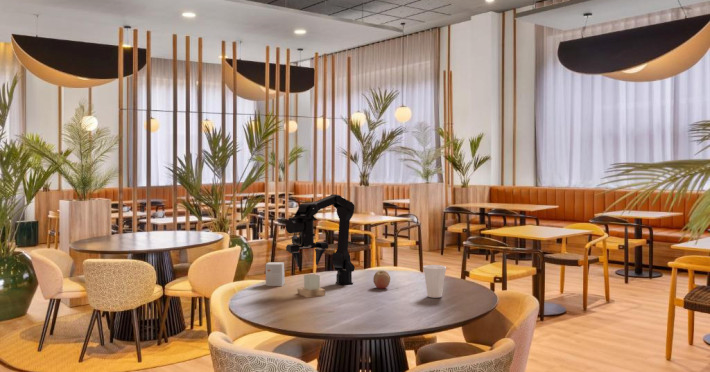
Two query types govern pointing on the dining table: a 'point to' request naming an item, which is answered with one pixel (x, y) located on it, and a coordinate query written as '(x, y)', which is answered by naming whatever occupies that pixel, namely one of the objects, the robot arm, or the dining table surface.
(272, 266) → the small box
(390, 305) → the dining table surface
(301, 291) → the oak block
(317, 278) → the sage cube
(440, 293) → the cup
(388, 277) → the fruit
